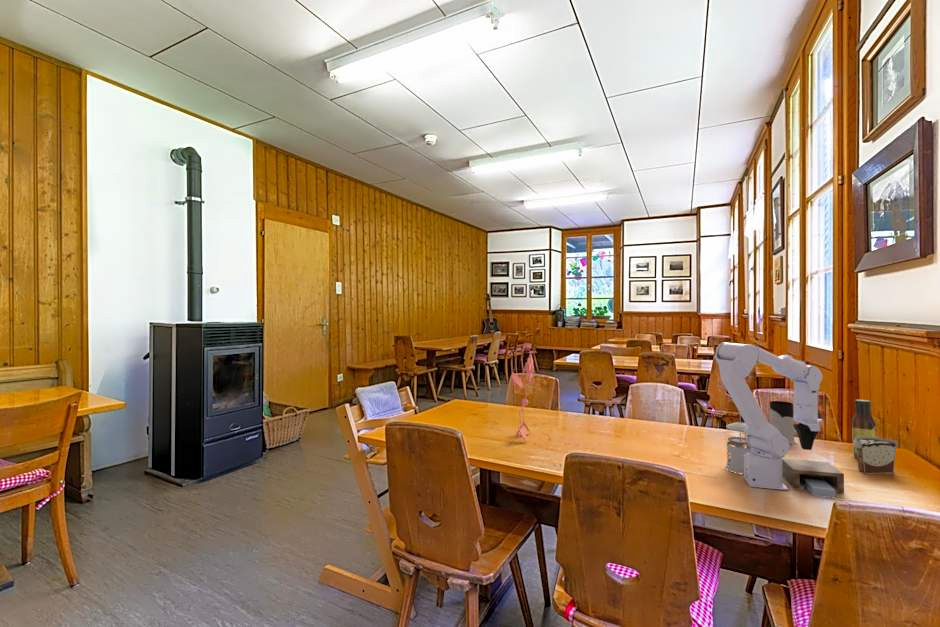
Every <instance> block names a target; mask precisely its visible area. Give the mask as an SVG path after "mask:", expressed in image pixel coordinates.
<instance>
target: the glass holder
mask: <svg viewBox="0 0 940 627" xmlns="http://www.w3.org/2000/svg"><path fill="white" fill-rule="evenodd" d="M768 413H769V415H768V417H769V419H768V420H769V421H768V422H769V423H770V424H771V425H772V426H774V427H775V428H776V429H778V430H779V431H780V433H781V434H782V435H783V436H784V437H786V438H787V439H788V441H789V444H793V445H796V444H795V443H796V441H795V434H797V431H796V429H795V428H794V426H793V424H795V421H794V402H793V403H792V402H789V401H783V400H782V401H780V400H772V401H769V412H768Z"/></svg>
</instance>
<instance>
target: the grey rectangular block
mask: <svg viewBox="0 0 940 627" xmlns="http://www.w3.org/2000/svg"><path fill="white" fill-rule="evenodd" d="M804 488H806V489H807V491H808V492H809V493H810V494H811V495H812V496H817V497H823V496H825V497H826V498H832V497H835V498H836V494H835V490H834V489H833V488H832V487H831V486H830V485H829V484H828V483H827V482H826V481H822V480H813V479H805V485H804ZM825 497H824V498H825Z"/></svg>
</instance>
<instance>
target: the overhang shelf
mask: <svg viewBox="0 0 940 627" xmlns="http://www.w3.org/2000/svg"><path fill="white" fill-rule="evenodd" d="M782 477H783V479H784V480H785V481H786V482H787V483H788V484H789V485H790V486H791V487H792V488H793V489H796V490H805V479H813V480H822V481H826V482H827V483H828V484H829V485H830V486H831V487H832V488H833V489H834V490H835V492H838V493H837V494H845V473H843V472H842V471H841V470H839V469H838V468H837V467H836V466H834V464H831V463H830V461H829V462H828V461H816V460H807V459H795V458H794V459H792V458H782ZM800 480H801V481H800Z"/></svg>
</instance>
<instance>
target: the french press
mask: <svg viewBox="0 0 940 627" xmlns="http://www.w3.org/2000/svg"><path fill="white" fill-rule="evenodd" d="M741 418H742V416H741V414H740V413H739V421H737V422H732V423H729V424H726V426H725V427H726V429H728V430H730V431H733V432H737V433H739V436H730V437H728V438H727V441H728V442H726V464H725V465H726V466H725V465H724V466H725V468H726V469H728V470H730V471H733V472H736V473H742V474H744V454H745V453H752V451H751V447H750V446H749V445H748V444H747V439H746V434H745V432H744V430H745V429H746V427H747V425H746V423H745V422H742V421H741ZM742 435H744V437H742ZM745 447H746V448H745Z"/></svg>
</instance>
